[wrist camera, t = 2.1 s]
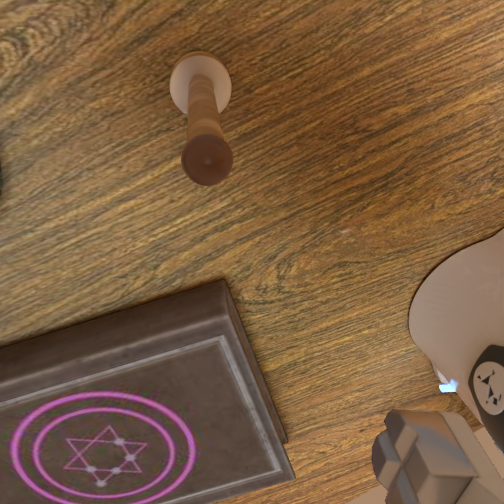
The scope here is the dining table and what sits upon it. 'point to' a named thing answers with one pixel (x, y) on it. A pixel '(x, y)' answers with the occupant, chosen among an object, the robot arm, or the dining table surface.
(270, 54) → the dining table surface
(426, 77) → the dining table surface
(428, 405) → the dining table surface
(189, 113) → the wooden peg stand
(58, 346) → the book
